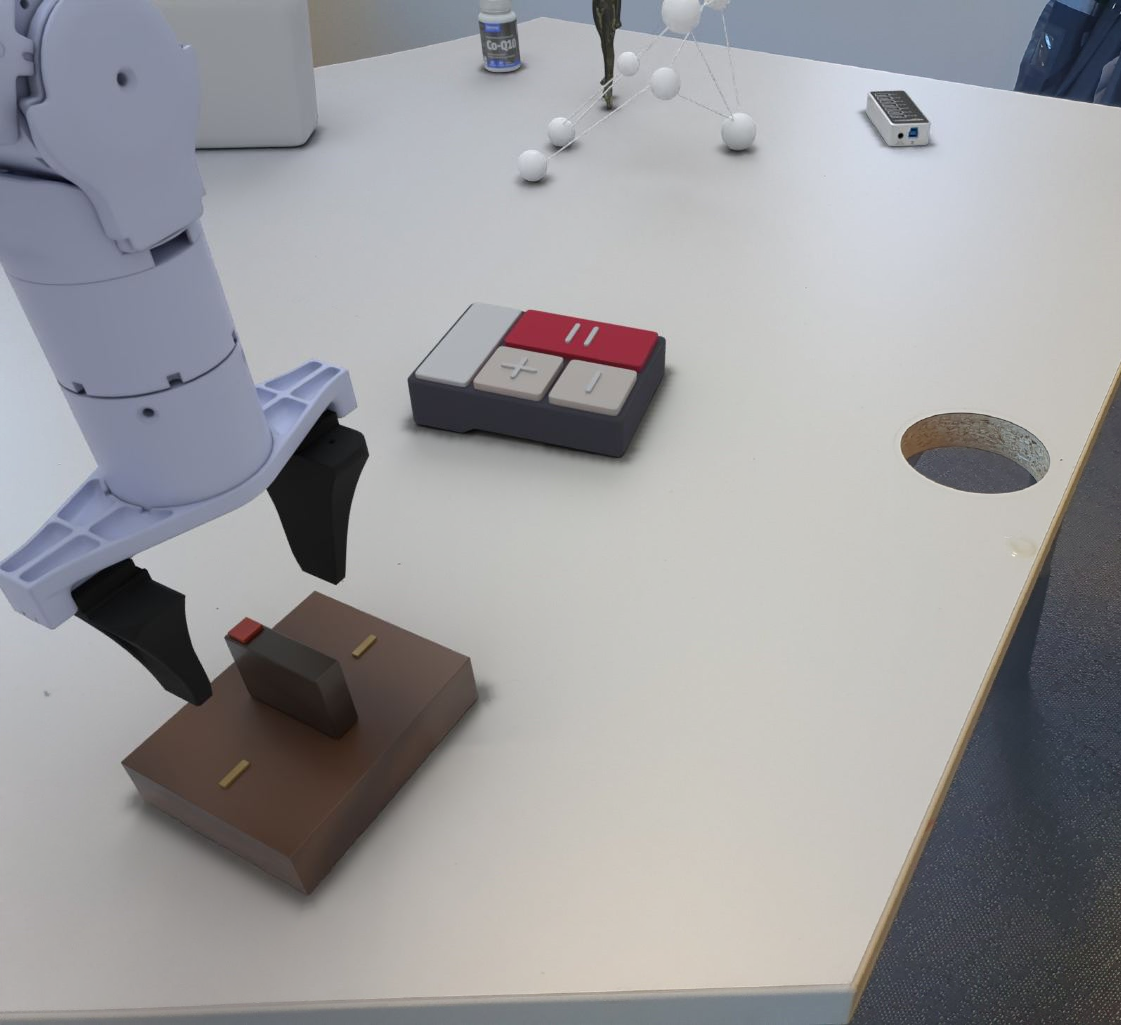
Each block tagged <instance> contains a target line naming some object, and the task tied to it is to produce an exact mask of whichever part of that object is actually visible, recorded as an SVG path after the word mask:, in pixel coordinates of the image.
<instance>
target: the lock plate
mask: <svg viewBox="0 0 1121 1025" xmlns="http://www.w3.org/2000/svg"><path fill="white" fill-rule="evenodd" d="M271 629H273V630H275V631H277V632H279V633H281V634H283V635H286V636H288V637H290V638H292V639H294V640H296V641H298V642H300V643H303V644H305V645H307V646H309V647H311V648H313V649H315V650H317V651H320V652H322V653H324V654H326V655H328V656H330V657H332V658H334V659H337V660H338V661H339V662H340V665H341V668H342V671H343V674H344V677H345V680H346V683H347V685H348V688H349V691H350V694H351V697H352V700H353V703H354V706H355V709H356V712H357V714H358V719H357V720H356V721H355V722H354V723H353V724H352V725H351V726H350V728H349V729H348V730H347V731H346V732H345V733H344V734H343V735H342V736H341V737H340V738H339V739H336V738H334V737H332V736H330V735H328V734H326V733H324V732H322V731H320V730H318V729H316V728H314V727H312V726H310V725H308V724H306V723H305V722H303V721H301V720H299V719H297V718H295V717H293V716H291V715H289V714H287V713H285V712H283V711H281V710H279V709H277V708H275V707H273V706H271V705H269V704H267V703H265V702H263V701H261V700H259V699H257V698H255V697H253V696H251V695H250V694H249V692H248V690H247V688H246V686H245V683H244V681H243V679H242V677H241V675H240V672H239V670H238V668H237V666H236V663H235V661H234V660H233V662H232V663H231V664H230V665H229V666H228V667H226V668H225V669H224V670H223V671H222V672H221V673H219V675H217V676H216V677H215V678H214V679H213V680H212V681H210V684H211V687H212V693H213V695H212V696H211V697H210V698H209V699H208V700H207V701H206V702H205V703H203V704H202V705H201V706H195V705H193V704H191V703H189V702H187V703H186V704H184V705H183V706H182V707H181V708H180V709H179V710H177V712H175V714H173V715H172V716H171V717H170V718H168V720H166V721H165V722H164V723H163V724H162V725H161V726H160V727H159V728H158V729H156V730H155V731H154V732H153V733H152V734H150V735H149V736H148V737H147V738H146V739H144V741H143V742H141V744H139V745H138V746H137V747H136V748H134V750H133V751H131V752H130V753H129V754H128V755H127V756H126V757H125V758H123V759H122V760H121V762H120V764H121V766H122V767H123V769H124V770H125V772H126V774H127V775H128V777H129V779H130V781H132V784H133V785H134V786H135V788H136V790H137V791H138V793H139V795H140V796H141V797H142V798H141V799H143V801H144V802H146V803H147V804H149V805H151V806H152V807H154V808H156V809H157V810H160V811H161V812H162V813H165V814H166V815H168V816H170V817H171V818H173V819H175V820H176V821H178V822H180V823H182V824H183V825H185V826H187V827H189V828H190V829H192V830H193V831H196V832H197V833H199V834H201V835H202V836H204V837H206V838H208V839H210V840H212V842H215V843H216V844H218V845H220V846H222V848H225V849H227V850H229V851H230V852H231V853H234V854H235V855H237V856H238V857H241V858H242V859H244V860H246V861H248V862H249V863H251V864H253V865H255V866H256V867H258V868H260V869H261V870H263V871H265V872H266V873H268V874H270V875H272V876H273V877H275V878H277V879H278V880H280V881H282V882H284V883H285V884H287V885H289V886H291V887H293V888H294V889H296V890H298V891H300V892H301V893H303V894H305V895H306V896H310V894H311V893H312V892H313V891H314V890H315V889H316V887H317V886H318V885H319V884H320V883H321V881H322V880H323V879H324V878H325V877H326V876H327V874H328V873H329V872H330V871H331V870H332V868H334V866H335V865H336V864H337V863H338V862H339V860H340V859H341V858H342V857H343V856H344V855H345V853H346V852H347V851H348V850H349V849H350V848H351V847H352V845H353V844H354V843H355V842H356V841H357V839H359V837H360V836H361V835H362V833H363V832H365V830H366V829H367V828H368V827H369V826H370V824H371V823H372V822H373V821H374V820H375V818H376V817H377V816H378V815H379V814H380V812H382V810H383V809H384V808H385V807H386V806H387V804H388V803H389V802H390V801H391V800H392V798H393V797H394V796H395V795H396V794H397V793H398V791H400V789H401V788H402V787H403V786H404V784H405V783H406V782H407V781H408V780H409V779H410V778H411V777H412V775H414V773H415V772H416V771H417V769H418V768H419V767H420V766H421V765H422V764H423V762H424V761H425V760H426V759H427V758H428V757H429V755H430V754H431V753H432V752H433V751H434V749H435V748H436V747H437V746H438V745H440V744H439V743H440V742H442V740H443V739H444V738H445V737H446V735H447V734H448V733H449V732H450V731H451V730H452V729H453V727H454V726H455V725H456V724H457V723H458V721H459V720H460V719H461V718H462V717H463V715H465V713H466V712H467V711H468V710H469V709H470V708H471V706H473V704H475V702H476V701H477V699H479V692H478V687H477V684H476V678H475V674H474V670H473V665H472V659H471V657H470V656H467V655H465V654H463V653H460V652H459V651H455V650H453V649H451V648H449V647H446V646H444V645H442V644H440V643H438V642H435V641H432V640H430V639H428V638H426V637H423V636H421V635H419V634H416V633H414V632H412V631H409V630H407V629H405V628H403V627H400V626H398V625H395V624H394V623H392V622H388V621H387V620H385V619H382V618H380V617H377V616H376V615H375V616H374V615H373V614H370V613H368V612H366V611H363V610H361V609H359V608H356V607H354V606H352V605H350V604H347V603H345V602H343V601H340V600H338V599H335V598H333V597H331V596H330V595H329V596H328V595H326V594H324V593H321V592H319V591H317V590H313V591H312V592H311V593H309V595H308V596H307V597H306V598H305V599H303V600H302V601H301V602H300V603H299V604H298V605H297V606H295V607H294V608H293V609H292V610H291V611H290V612H289V613H287V614H286V615H285V616H284V617H283V618H282V619H281V620H279V621H278V622H277V623H276V624H275V625H274V626H273V627H271Z"/></svg>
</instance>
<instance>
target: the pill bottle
mask: <svg viewBox="0 0 1121 1025" xmlns="http://www.w3.org/2000/svg"><path fill="white" fill-rule="evenodd" d="M478 3H479V4H478V5H479V9H480V10H481V11H480V13H479V14H478V17H477V21H478V28H479V35H480V36H479V37H480V44H481V53H482V61H483V67H484V69H485V70H487V71H489V72H493V73H508V72H514V71H517V70H519V68H520V67H521V65H522V61H521V51H520V40H519V31H518V20H517V14H516V13H515V11H513V10H512V9H513V0H478Z"/></svg>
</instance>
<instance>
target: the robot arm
mask: <svg viewBox="0 0 1121 1025" xmlns="http://www.w3.org/2000/svg"><path fill="white" fill-rule="evenodd" d="M200 110H201V81H200V73H199V67H198V62H197V57H196V53H195V50H194V48H193V46H191V45H186V46H184V47H183V45H182V43H181V42H178V39H177V37H176V35H175V33H174V31H173V29H172V28H171V26H170V25H169V23H168V21H167V20H166V19H165V17H164V16H163V14H162V13H161V12H160V11H159V10H158V9H157V7H156V6H155V5H154V4H153V3H152V2H151V1H149V0H0V266H1V268H2V269H3V271H4V274H5V275H6V278H7V280H8V281H9V282H8V283H9V284H10V286H11V288H12V290H13V292H14V294H15V296H16V299H17V300H18V302H19V305H20V306H21V308H22V312H23V313H24V315H25V317H26V319H27V321H28V323H29V326H30V328H31V329H32V331H33V334H34V336H35V337H36V340H37V342H38V344H39V346H40V348H41V350H42V352H43V354H44V357H45V358H46V360H47V363H48V364H49V367H50V368H51V370H52V373H53V375H54V377H55V379H56V381H57V384H58V386H59V388H60V391H61V392H62V394H63V396H64V398H65V400H66V403H67V404H68V406H69V409H70V411H71V413H72V415H73V417H74V419H75V421H76V423H77V425H78V427H79V429H80V432H81V434H82V436H83V438H84V440H85V442H86V444H87V446H88V448H89V450H90V452H91V454H92V457H93V459H94V460H95V463H96V464H97V467H96V469H95V470H94V471H93V472H92V473H91V474H90V475H89V476H88V477H86V479H85V480H84V481H83V483H81V484H80V485H79V487H77V489H76V490H75V491H74V492H73V493H72V494H71V495H70V496H69V497H68V498H67V499H66V500H65V502H63V503H62V504H61V505H60V507H59V508H57V510H56V511H55V512H53V514H52V515H51V516H50V517H49V518H48V519H47V520H46V521H45V522H44V523H43V524H42V526H40V527H39V529H37V531H36V532H35V533H33V534H32V535H31V536H30V537H29V539H28V540H26V542H24V543H23V544H21V545H20V546H19V547H18V548H17V549H16V550H14V551H13V552H12V553H11V554H9V555H8V556H6V557H5V558H3V559H2V560H1V561H0V590H1V592H2V593H3V595H4V597H5V598H6V600H7V601H8V603H9V604H10V606H11V608H12V609H13V611H14V612H15V613H17V614H20V615H22V616H23V617H25V618H27V619H28V620H30V621H33V622H35V623H36V624H38V625H41V626H43V627H45V628H47V629H48V630H51V631H52V630H56V629H57V628H58V627H60V626H61V625H62V624H64V623H65V622H67V621H68V620H69V619H70V618H72V617H73V616H74V617H76V618H78V619H79V620H82V621H83V622H84V623H86V624H88V625H89V626H91V627H93V628H94V629H95V630H97V631H99V632H100V633H102V634H103V635H104V636H106V637H108V638H109V639H110V640H112V641H113V642H114V643H116V644H117V645H119V647H121V648H123V650H125V652H127V653H128V654H130V655H131V656H132V657H133V658H134V659H135V660H137V661H138V662H139V664H141V665H142V666H143V667H144V668H145V669H146V670H147V671H148V672H149V673H150V674H151V675H152V676H153V677H154V679H155V680H156V681H157V682H158V683H159V685H160V686H161V687H162V688H163V689H164V691H166V692H168V693H170V694H172V695H173V696H176V697H177V698H179V699H181V700H183V701H185V702H187V703H188V702H189V703H191V704H193V705H195V706H201V705H202V704H203V703H205V702H206V701H207V700H208V699H209V698H210V697H211V696H212V695H213V693H212V687H211V684H210V683H211V681H210V678H209V676H208V674H207V672H206V670H205V668H204V666H203V664H202V663H201V661H200V659H199V656H198V654H197V653H196V650H195V648H194V646H193V642H192V638H191V636H190V632H189V626H188V622H187V621H188V620H187V613H186V596H187V595H186V594H184V593H182V592H180V591H178V590H176V589H173V588H171V587H169V586H167V585H165V584H163V583H161V582H159V581H156V580H155V579H152V577H151V574H150V573H149V570H148V569H147V568H146V567H143V568H142V567H140V566H137V565H136V564H135V562H134V559H133V557H135V556H136V555H139V554H140V553H143V552H144V551H147V550H149V549H151V548H155V547H156V546H158V545H161V544H162V543H165V542H168V541H169V540H171V539H174V538H176V537H178V536H181V535H183V534H185V533H187V532H190V531H191V530H194V529H196V528H198V527H200V526H203V525H205V524H207V523H209V522H211V521H214V520H216V519H218V518H220V517H222V516H225V515H227V514H229V513H232V512H234V511H236V510H237V509H240V508H242V507H243V506H245V505H247V504H249V503H250V502H252V501H253V500H254V499H256V498H257V497H259V496H260V495H261V494H262V493H264V492H265V490H266V492H267V494H268V495H269V497H270V500H271V501H272V504H273V506H274V508H275V510H276V512H277V515H278V518H279V520H280V523H281V526H282V529H283V531H284V534H285V537H286V540H287V542H288V545H289V548H290V551H291V554H292V555H293V557H294V559H295V562H296V563H297V565H298V567H300V570H301V571H302V572H304V573H306V574H308V575H310V576H313V577H315V578H317V579H320V580H322V581H324V582H326V583H329V584H331V585H334V586H337V585H339V584H340V583H341V582H342V581H343V580H344V579H345V578H346V574H347V552H348V551H347V550H348V533H349V525H350V524H349V522H350V515H351V509H352V504H353V499H354V496H355V493H356V489H357V486H358V483H359V481H360V478H361V474H362V472H363V470H364V467H365V466H366V464H367V462H368V460H369V457H370V452H369V448H368V443H367V440H366V437H365V435H364V433H362V432H361V431H360V430H357V429H355V428H351V427H349V426H346V425H343V424H340V422H339V419H343V418H346V417H347V416H348V415H349V414H351V413H352V412H354V411H355V410H356V409H357V408H358V406H359V405H358V402H357V398H356V394H355V390H354V386H353V383H352V378H351V375H350V371H349V369H347V368H345V367H342V366H339V365H336V364H333V363H329V362H327V361H323V360H321V359H317V358H314V357H311V358H310V359H309V360H307V361H305V362H304V363H302V364H300V365H298V366H297V367H294V368H293V369H290V370H288V371H287V372H284V373H282V374H279V375H277V376H274V377H273V378H270V379H267V380H264V381H262V382H259V383H257V384H255V382H254V379H253V376H252V373H251V371H250V367H249V364H248V361H247V358H246V355H245V351H244V348H243V346H242V343H241V340H240V337H239V334H238V331H237V327H236V323H235V321H234V318H233V315H232V312H231V309H230V305H229V303H228V300H227V297H226V293H225V291H224V288H223V284H222V282H221V279H220V276H219V272H218V270H217V267H216V264H215V261H214V257H213V255H212V251H211V249H210V245H209V243H208V239H207V237H206V234H205V231H204V228H203V225H202V222H201V218H202V216H203V214H204V205H203V202H202V199H203V197H205V196H206V195H207V192H206V189H205V185H204V182H203V179H202V176H201V172H200V169H199V165H198V162H197V156H196V149H195V139H196V132H197V128H198V123H199V117H200Z"/></svg>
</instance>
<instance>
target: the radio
mask: <svg viewBox="0 0 1121 1025" xmlns="http://www.w3.org/2000/svg"><path fill="white" fill-rule="evenodd" d="M149 1H151V2H152V3H153V4H154V5H155V6H156V7H157V9H158V10H159V11H160V12H161V13H162V14H163V16H164V17H165V19H166V20H167V21H168V23H169V25H170V26H171V28H172V29H173V31H174V33H175V35H176V37H177V39H178V42H181V43H182V45H183V47H184V46H186V45H191V46H193V48H194V50H195V53H196V57H197V62H198V67H199V73H200V81H201V110H200V117H199V123H198V128H197V132H196V139H195V150H196V149H237V148H240V149H241V148H242V149H243V148H280V147H282V148H284V147H286V148H287V147H299V146H302V145H305V143H306V142H307V141H309V139H310V137H311V135H312V134H313V132H314V130H315V129H316V127H317V126H318V124H319V111H318V102H317V89H316V80H315V78H316V77H315V70H314V69H315V68H314V67H315V66H314V56H313V49H312V47H313V46H312V45H313V44H312V36H311V24H310V13H309V3H308V0H149Z"/></svg>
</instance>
